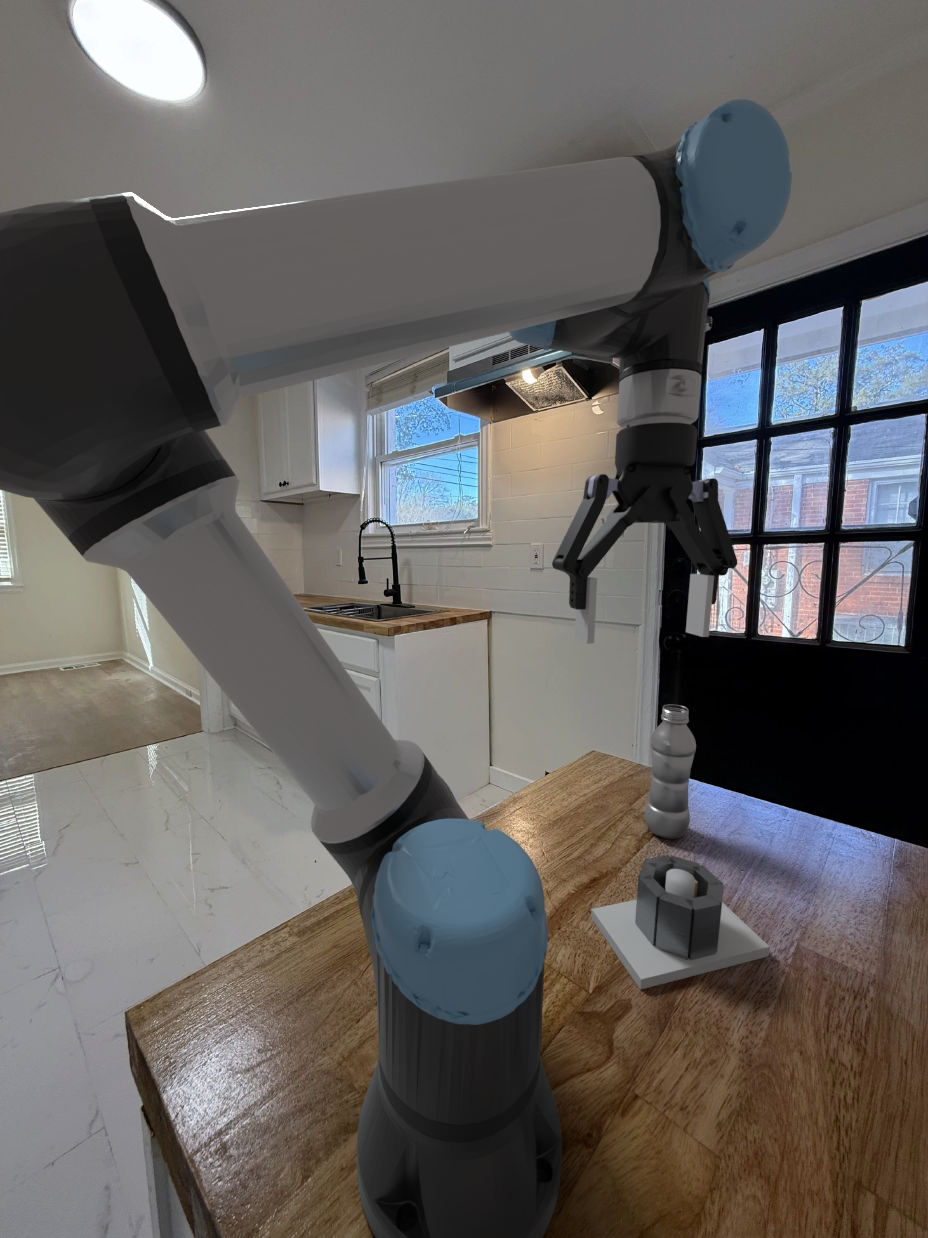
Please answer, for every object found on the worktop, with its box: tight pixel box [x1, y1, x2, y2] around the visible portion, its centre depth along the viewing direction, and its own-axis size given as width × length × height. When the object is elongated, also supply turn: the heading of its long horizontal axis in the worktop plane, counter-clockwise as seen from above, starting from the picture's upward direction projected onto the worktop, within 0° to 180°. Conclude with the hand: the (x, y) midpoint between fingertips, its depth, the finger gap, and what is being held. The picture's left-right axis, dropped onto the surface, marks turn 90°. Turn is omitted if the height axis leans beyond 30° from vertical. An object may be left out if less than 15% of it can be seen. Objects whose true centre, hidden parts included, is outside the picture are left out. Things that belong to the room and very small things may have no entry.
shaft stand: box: [590, 869, 770, 990], centre depth 57 cm, size 16×10×8 cm, turn 105°
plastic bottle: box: [644, 703, 697, 840], centre depth 76 cm, size 6×7×20 cm
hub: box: [635, 854, 725, 960], centre depth 57 cm, size 8×8×6 cm
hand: (642, 637), depth 54 cm, fingers open, 13 cm apart
